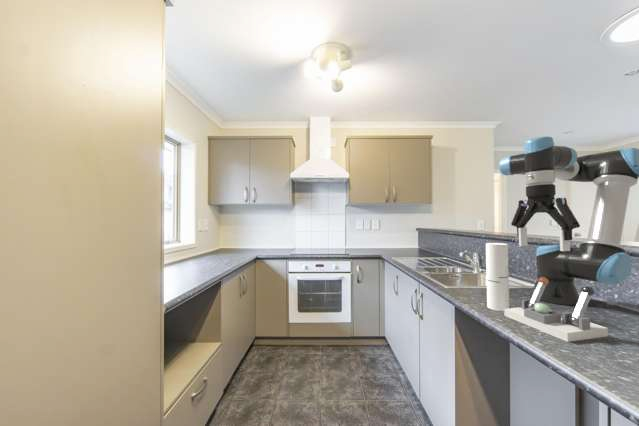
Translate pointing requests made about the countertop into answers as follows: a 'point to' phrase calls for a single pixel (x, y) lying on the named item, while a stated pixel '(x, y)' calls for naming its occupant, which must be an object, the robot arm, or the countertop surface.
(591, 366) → the countertop surface
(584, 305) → the lever
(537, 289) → the lever
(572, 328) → the panel
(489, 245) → the cylindrical container
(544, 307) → the button
